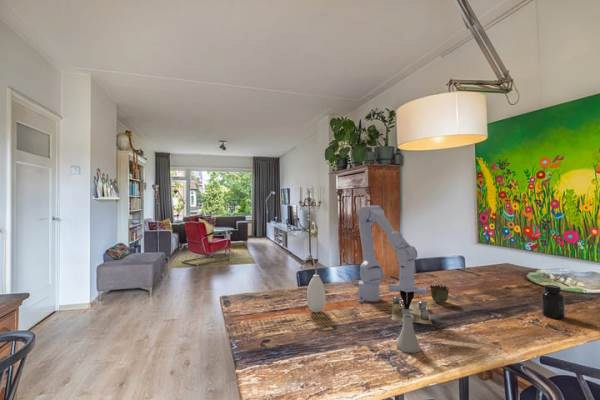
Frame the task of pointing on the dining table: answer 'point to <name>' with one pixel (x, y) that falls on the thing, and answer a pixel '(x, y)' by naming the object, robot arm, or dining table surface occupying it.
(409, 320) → the flask
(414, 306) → the birch board
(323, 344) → the dining table surface
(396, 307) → the brass nut
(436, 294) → the cup
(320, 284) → the sauce bottle
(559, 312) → the supplement bottle
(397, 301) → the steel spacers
